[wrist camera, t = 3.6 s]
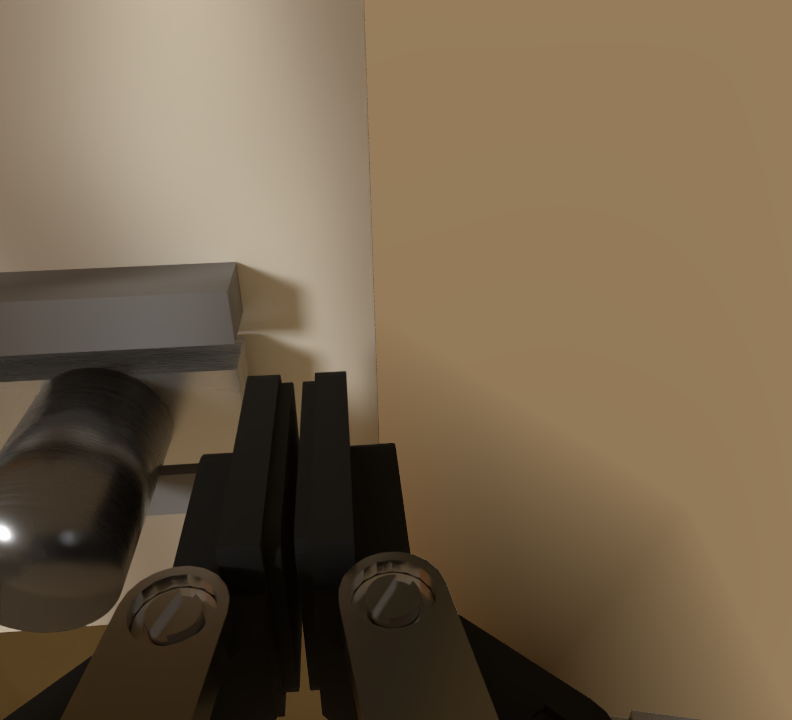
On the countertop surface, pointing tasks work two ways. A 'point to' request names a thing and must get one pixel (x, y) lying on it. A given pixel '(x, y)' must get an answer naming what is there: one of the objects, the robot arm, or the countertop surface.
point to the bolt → (97, 466)
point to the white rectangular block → (189, 196)
